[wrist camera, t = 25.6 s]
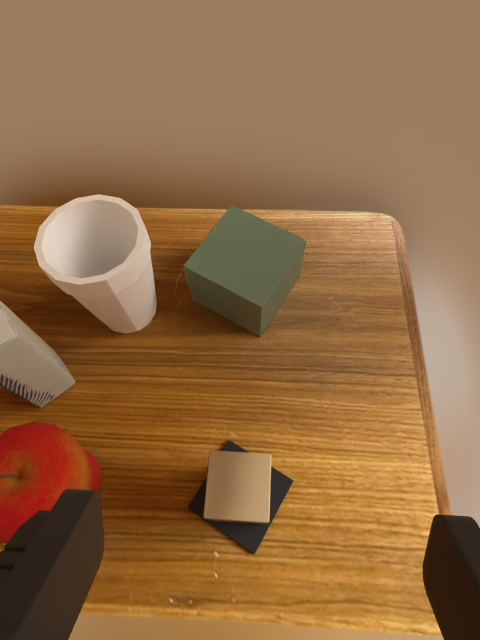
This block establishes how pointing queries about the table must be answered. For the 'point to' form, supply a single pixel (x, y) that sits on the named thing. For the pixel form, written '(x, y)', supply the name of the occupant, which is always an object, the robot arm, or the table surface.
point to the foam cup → (101, 259)
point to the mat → (238, 531)
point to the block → (238, 487)
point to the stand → (244, 269)
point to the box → (29, 362)
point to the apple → (40, 472)
